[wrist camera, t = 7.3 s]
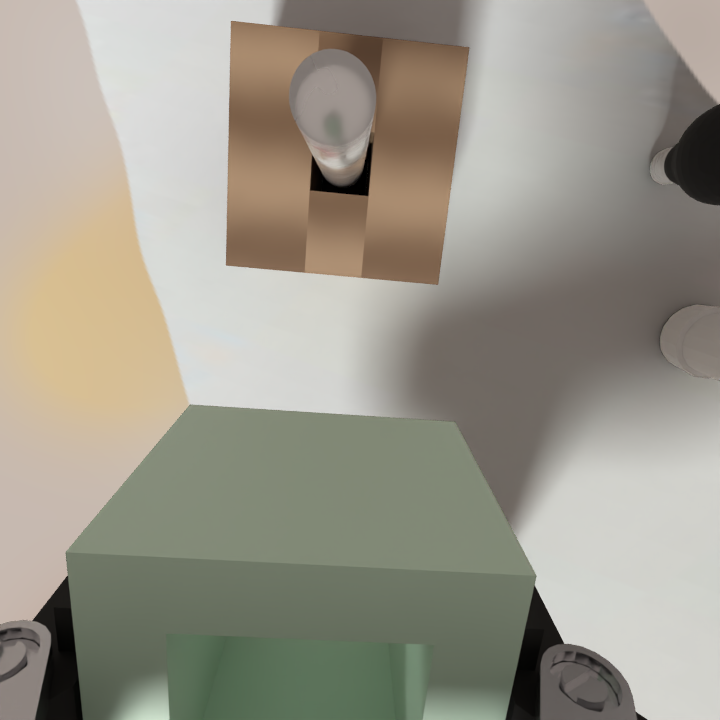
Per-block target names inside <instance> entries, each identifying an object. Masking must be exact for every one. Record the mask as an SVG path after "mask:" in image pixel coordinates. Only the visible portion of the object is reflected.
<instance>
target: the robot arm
mask: <svg viewBox="0 0 720 720" xmlns="http://www.w3.org/2000/svg"><path fill="white" fill-rule="evenodd" d="M0 720H83V715H82V705H81V695H80V686H79V676H78V667H77V657H76V648H75V638H74V628H73V619H72V609H71V600H70V590H69V581H68V576H67V577H66V578H65V580H64V581H63V582H62V584H61V585H60V586H59V587H58V589H57V590H56V591H55V593H54V594H53V595H52V596H51V598H50V599H49V600H48V601H47V603H46V604H45V605H44V606H43V608H42V609H41V611H40V612H39V613H38V614H37V616H36V617H35V618H34V619H33V621H27V620H20V621H11V622H7V623H3V624H0ZM505 720H647V719H646V718H644V717H643V716H641V715H640V714H638V713H637V712H636V711H635V706H634V701H633V696H632V693H631V690H630V688H629V685H628V683H627V681H626V680H625V679H624V677H623V676H622V674H621V673H620V671H618V670H617V669H616V668H615V667H614V666H613V665H612V664H611V663H610V662H609V661H608V660H606V659H605V658H603V657H602V656H600V655H599V654H597V653H596V652H593V651H591V650H589V649H586V648H584V647H581V646H577V645H572V644H564V642H563V640H562V638H561V636H560V634H559V632H558V630H557V628H556V627H555V625H554V623H553V621H552V619H551V617H550V615H549V613H548V611H547V609H546V607H545V605H544V603H543V601H542V599H541V597H540V595H539V593H538V591H537V589H536V587H535V585H534V590H533V594H532V599H531V603H530V608H529V613H528V617H527V622H526V627H525V631H524V636H523V640H522V645H521V650H520V654H519V659H518V664H517V668H516V673H515V677H514V682H513V687H512V691H511V696H510V700H509V705H508V710H507V714H506V719H505Z"/></svg>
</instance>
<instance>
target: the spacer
mask: <svg viewBox="0 0 720 720" xmlns="http://www.w3.org/2000/svg"><path fill="white" fill-rule="evenodd" d="M66 561H67V571H68V581H69V590H70V600H71V609H72V619H73V628H74V638H75V648H76V657H77V667H78V676H79V686H80V695H81V705H82V715H83V720H505V719H506V714H507V710H508V705H509V700H510V696H511V691H512V687H513V682H514V677H515V673H516V668H517V664H518V659H519V654H520V650H521V645H522V640H523V636H524V631H525V627H526V622H527V617H528V613H529V608H530V603H531V599H532V594H533V590H534V585H535V580H536V574H535V572H534V570H533V568H532V566H531V565H530V563H529V561H528V559H527V557H526V555H525V553H524V551H523V549H522V547H521V546H520V544H519V542H518V540H517V538H516V536H515V534H514V532H513V530H512V529H511V527H510V525H509V523H508V521H507V519H506V517H505V515H504V513H503V512H502V510H501V508H500V506H499V504H498V502H497V500H496V498H495V496H494V494H493V493H492V491H491V489H490V487H489V485H488V483H487V481H486V479H485V477H484V476H483V474H482V472H481V470H480V468H479V466H478V464H477V462H476V460H475V459H474V457H473V455H472V453H471V451H470V449H469V447H468V445H467V443H466V441H465V440H464V438H463V436H462V434H461V432H460V430H459V428H458V426H457V424H456V423H455V422H452V421H436V420H421V419H405V418H390V417H374V416H359V415H343V414H328V413H312V412H297V411H281V410H266V409H250V408H235V407H219V406H204V405H189V406H188V408H187V409H186V410H185V411H184V413H183V414H182V415H181V416H180V417H179V418H178V419H177V421H176V422H175V423H174V424H173V425H172V427H171V428H170V429H169V430H168V431H167V433H166V434H165V435H164V436H163V437H162V439H161V440H160V441H159V442H158V443H157V444H156V446H155V447H154V448H153V449H152V450H151V452H150V453H149V454H148V455H147V456H146V457H145V459H144V460H143V461H142V462H141V464H140V465H139V466H138V467H137V468H136V469H135V470H134V472H133V473H132V474H131V475H130V476H129V478H128V479H127V480H126V481H125V482H124V484H123V485H122V486H121V487H120V488H119V490H118V491H117V492H116V493H115V494H114V495H113V497H112V498H111V499H110V500H109V501H108V503H107V504H106V505H105V506H104V507H103V508H102V510H101V511H100V512H99V513H98V514H97V516H96V517H95V518H94V519H93V520H92V521H91V523H90V524H89V525H88V526H87V527H86V529H85V530H84V531H83V532H82V533H81V535H80V536H79V537H78V538H77V539H76V540H75V542H74V543H73V544H72V545H71V546H70V548H69V549H68V550H67V551H66Z"/></svg>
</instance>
